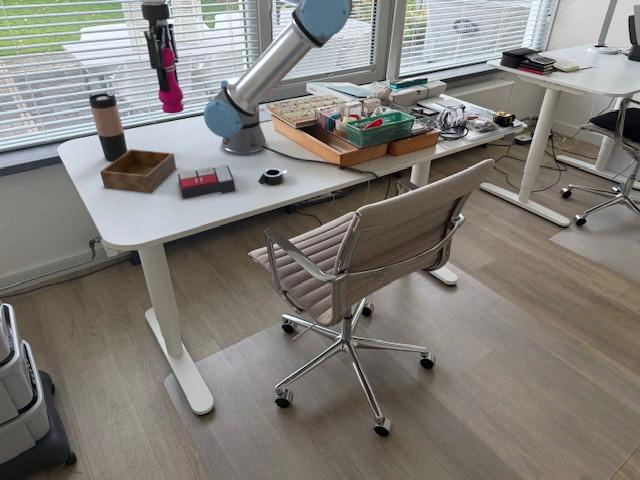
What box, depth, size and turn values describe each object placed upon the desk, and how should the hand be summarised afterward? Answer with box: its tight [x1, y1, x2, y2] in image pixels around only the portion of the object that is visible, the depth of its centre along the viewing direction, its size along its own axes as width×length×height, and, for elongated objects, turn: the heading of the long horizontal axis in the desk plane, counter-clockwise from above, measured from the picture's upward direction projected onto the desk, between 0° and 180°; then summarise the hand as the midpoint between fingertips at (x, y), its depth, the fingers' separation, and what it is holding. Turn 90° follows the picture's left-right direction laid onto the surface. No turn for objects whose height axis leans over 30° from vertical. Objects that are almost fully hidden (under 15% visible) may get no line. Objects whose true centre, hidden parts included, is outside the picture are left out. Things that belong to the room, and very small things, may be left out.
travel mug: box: [88, 93, 128, 163], centre depth 146 cm, size 8×8×20 cm
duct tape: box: [257, 167, 288, 187], centre depth 139 cm, size 8×10×3 cm
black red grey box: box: [177, 164, 236, 200], centre depth 135 cm, size 11×4×15 cm
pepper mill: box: [158, 43, 185, 115], centre depth 137 cm, size 7×7×20 cm
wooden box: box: [99, 148, 177, 194], centre depth 138 cm, size 15×17×5 cm
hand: (169, 88), depth 139 cm, fingers closed on pepper mill, 6 cm apart
